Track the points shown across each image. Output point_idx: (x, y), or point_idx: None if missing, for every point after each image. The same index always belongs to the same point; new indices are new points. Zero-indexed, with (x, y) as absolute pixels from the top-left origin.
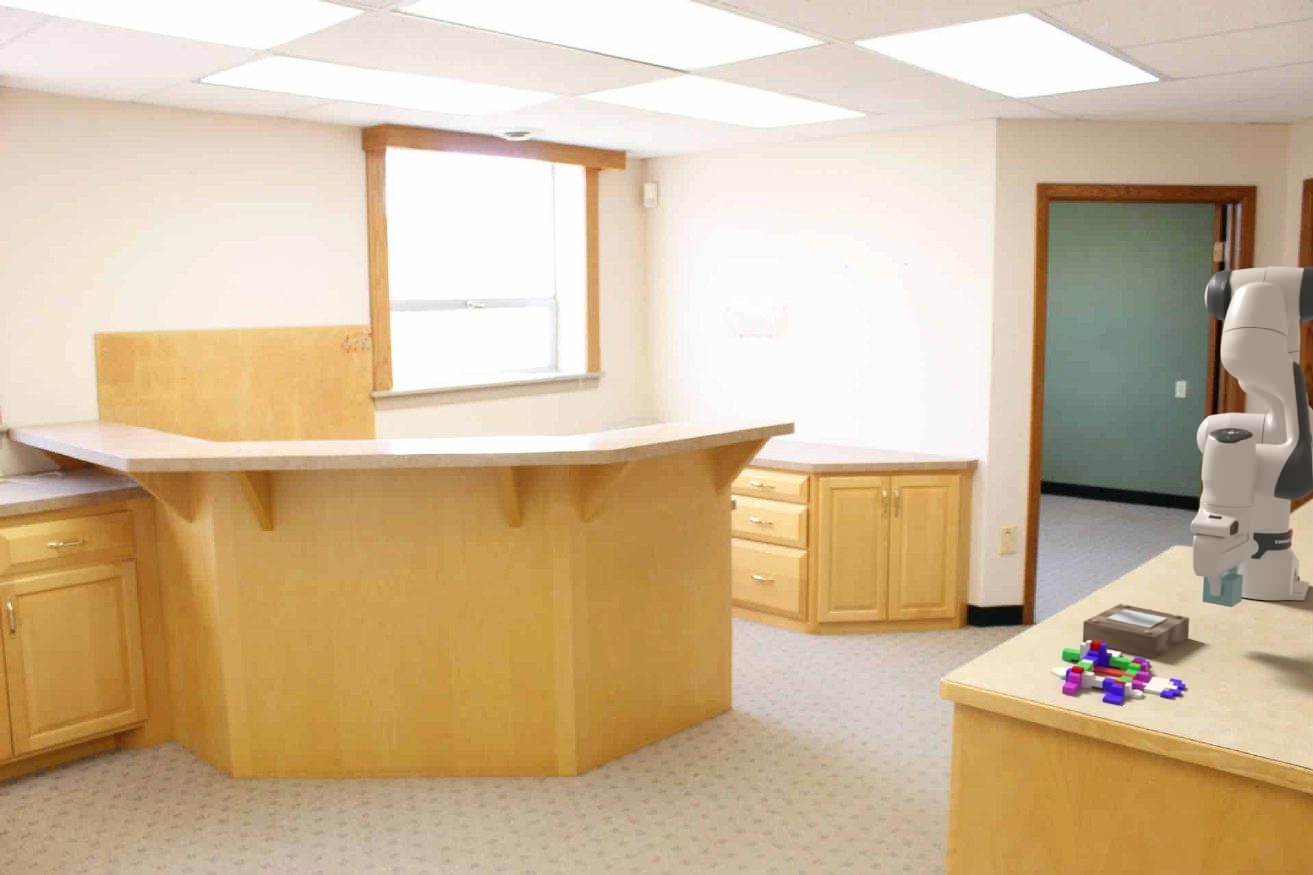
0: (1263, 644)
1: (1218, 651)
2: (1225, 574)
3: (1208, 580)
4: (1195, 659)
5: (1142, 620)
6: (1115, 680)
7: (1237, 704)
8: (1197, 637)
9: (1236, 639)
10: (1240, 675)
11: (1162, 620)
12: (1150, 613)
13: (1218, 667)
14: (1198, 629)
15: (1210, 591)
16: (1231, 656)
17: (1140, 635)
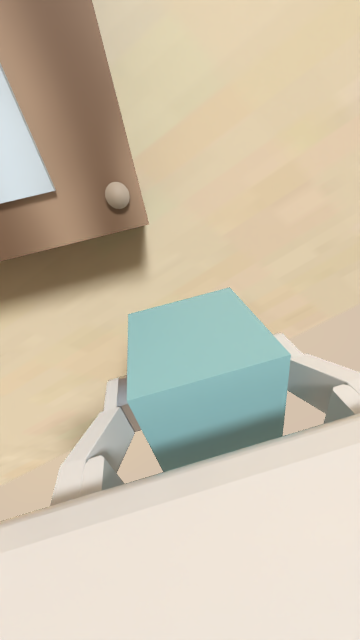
0: None
1: (121, 309)
2: (238, 421)
3: (76, 444)
4: (27, 319)
5: None
6: None
7: None
8: (170, 225)
9: (225, 281)
10: (43, 395)
11: (8, 201)
12: (51, 78)
13: (37, 363)
14: (234, 183)
15: (107, 389)
16: (117, 337)
17: None
